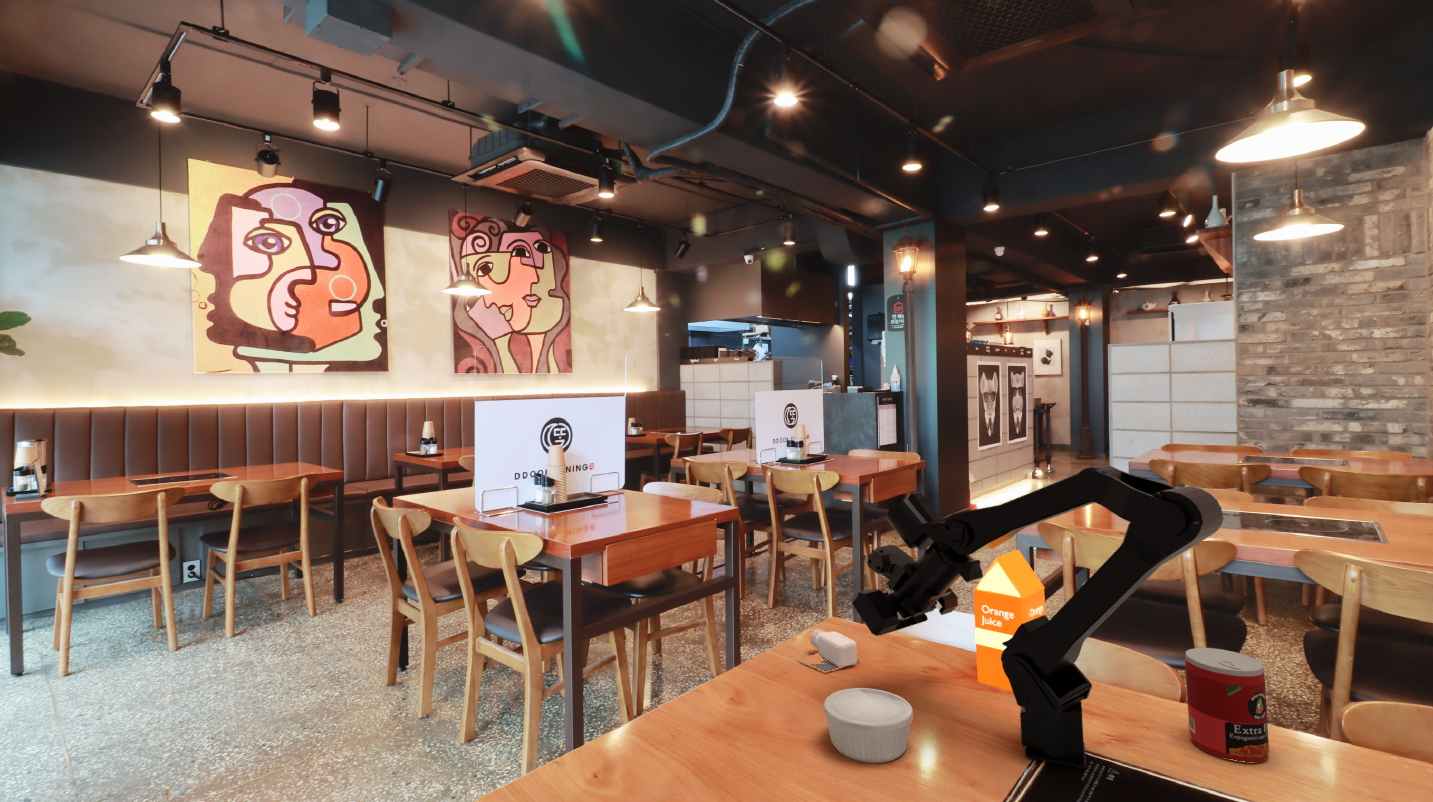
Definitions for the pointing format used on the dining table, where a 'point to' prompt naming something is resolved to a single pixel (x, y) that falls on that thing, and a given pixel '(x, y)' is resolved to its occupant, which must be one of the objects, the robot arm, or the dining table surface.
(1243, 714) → the canned food
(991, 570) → the orange juice
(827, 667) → the coaster
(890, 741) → the ramekin
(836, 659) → the pepper shaker
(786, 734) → the dining table surface
